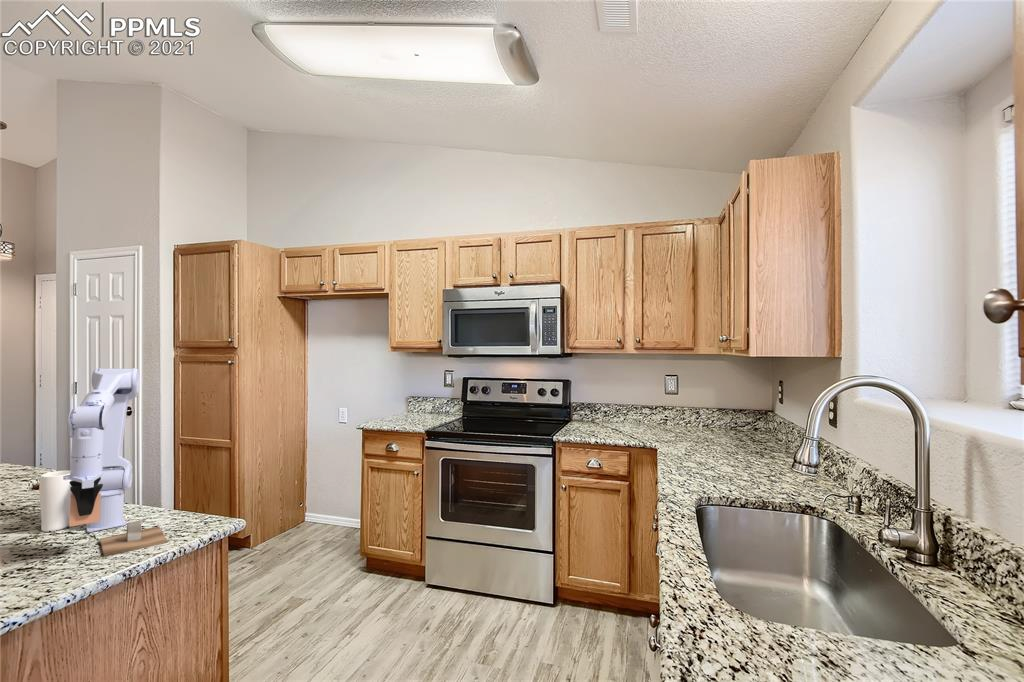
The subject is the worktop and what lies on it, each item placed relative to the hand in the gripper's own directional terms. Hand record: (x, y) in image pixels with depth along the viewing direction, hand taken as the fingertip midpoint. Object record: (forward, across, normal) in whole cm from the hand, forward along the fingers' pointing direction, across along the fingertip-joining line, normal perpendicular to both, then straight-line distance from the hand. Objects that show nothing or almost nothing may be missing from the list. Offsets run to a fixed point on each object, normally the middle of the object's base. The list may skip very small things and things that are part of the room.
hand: (84, 511), depth 110 cm
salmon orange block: (+2, 0, 0) cm, 2 cm away
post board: (+10, 0, +9) cm, 14 cm away
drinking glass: (+10, -25, -5) cm, 27 cm away
